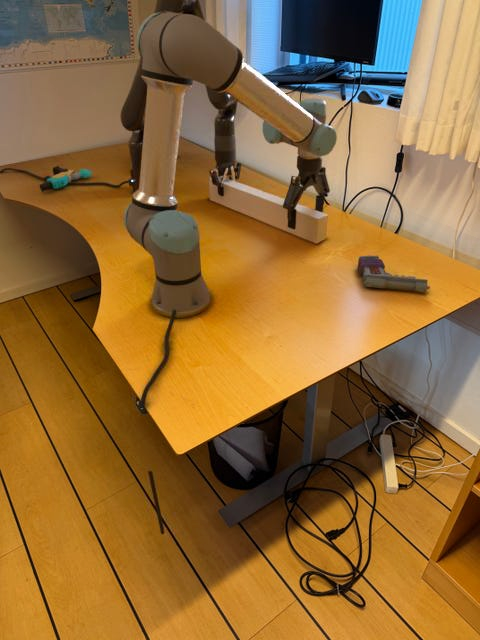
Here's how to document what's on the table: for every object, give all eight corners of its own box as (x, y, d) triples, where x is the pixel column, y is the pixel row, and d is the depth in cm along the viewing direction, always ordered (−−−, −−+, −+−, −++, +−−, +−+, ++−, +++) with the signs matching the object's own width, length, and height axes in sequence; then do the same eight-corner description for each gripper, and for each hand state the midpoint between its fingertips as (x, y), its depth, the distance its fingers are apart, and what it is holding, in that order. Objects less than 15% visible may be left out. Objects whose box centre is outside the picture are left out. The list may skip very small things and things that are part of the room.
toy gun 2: (422, 269, 137) (428, 298, 126) (357, 263, 141) (356, 291, 129) (425, 258, 135) (432, 285, 123) (358, 252, 138) (358, 278, 126)
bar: (325, 239, 155) (328, 214, 150) (316, 243, 152) (318, 219, 147) (219, 196, 185) (218, 175, 180) (209, 199, 183) (208, 178, 178)
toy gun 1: (18, 179, 190) (45, 185, 184) (65, 161, 208) (91, 166, 203) (21, 190, 192) (48, 196, 187) (67, 171, 211) (93, 177, 205)
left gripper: (232, 140, 174) (233, 186, 184) (202, 149, 166) (205, 196, 176) (247, 145, 169) (247, 191, 179) (216, 153, 161) (218, 201, 171)
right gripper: (325, 144, 151) (320, 207, 164) (272, 162, 137) (270, 229, 150) (345, 148, 147) (338, 213, 159) (291, 168, 133) (288, 237, 146)
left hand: (226, 193), depth 177 cm, fingers closed on bar, 4 cm apart
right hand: (305, 221), depth 155 cm, fingers open, 13 cm apart
